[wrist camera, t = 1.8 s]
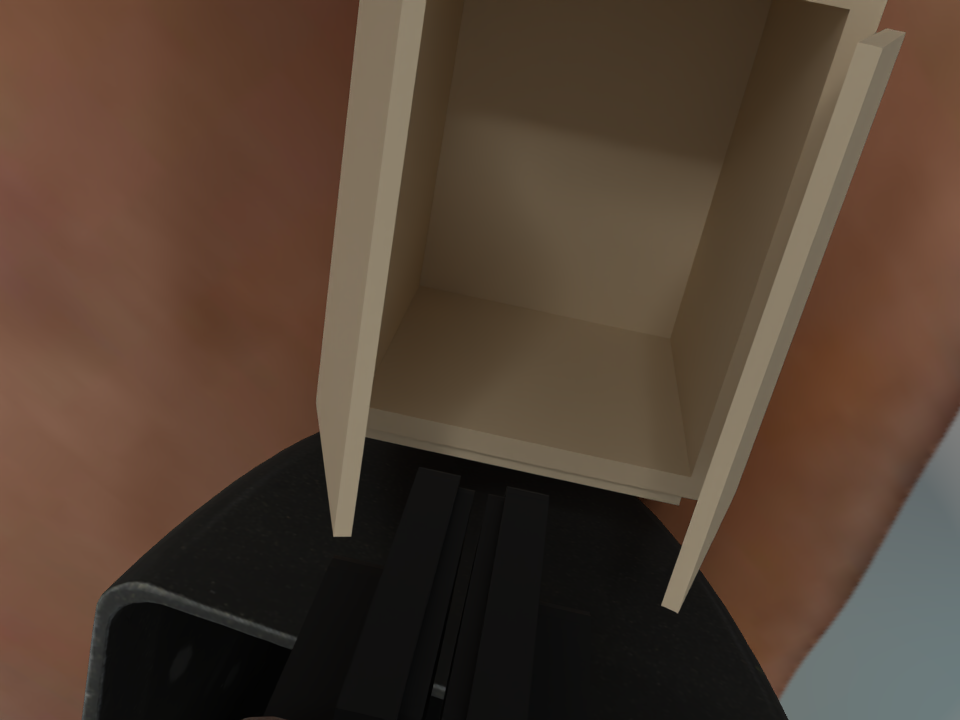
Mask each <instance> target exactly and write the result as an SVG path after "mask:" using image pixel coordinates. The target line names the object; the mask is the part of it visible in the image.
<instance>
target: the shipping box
mask: <svg viewBox="0 0 960 720" xmlns="http://www.w3.org/2000/svg"><path fill="white" fill-rule="evenodd" d="M886 3H887V0H426V6H425V13H424V20H423V27H422V35H421V42H420V49H419V56H418V63H417V70H416V77H415V85H414V92H413V99H412V106H411V113H410V120H409V127H408V135H407V142H406V149H405V156H404V163H403V170H402V177H401V185H400V192H399V199H398V206H397V213H396V220H395V227H394V234H393V242H392V249H391V256H390V263H389V270H388V277H387V284H386V292H385V299H384V306H383V313H382V320H381V327H380V334H379V342H378V349H377V356H376V363H375V370H374V377H373V384H372V392H371V399H370V406H369V413H368V420H367V427H366V434H365V437H368V438H372V439H377V440H382V441H386V442H391V443H395V444H400V445H404V446H409V447H414V448H418V449H423V450H427V451H432V452H436V453H441V454H446V455H450V456H455V457H459V458H464V459H468V460H473V461H478V462H482V463H487V464H491V465H496V466H500V467H505V468H510V469H514V470H519V471H523V472H528V473H533V474H537V475H542V476H546V477H551V478H555V479H560V480H565V481H569V482H574V483H578V484H583V485H587V486H592V487H597V488H601V489H606V490H610V491H615V492H619V493H624V494H629V495H633V496H638V497H642V498H647V499H651V500H656V501H661V502H665V503H670V504H674V505H679V503H680V500H681V497H684V498H689V499H694V500H698V498H699V496H700V493H701V490H702V487H703V484H704V481H705V478H706V475H707V473H708V470H709V467H710V464H711V461H712V458H713V455H714V453H715V450H716V447H717V444H718V441H719V438H720V435H721V433H722V430H723V427H724V424H725V421H726V418H727V415H728V413H729V410H730V407H731V404H732V401H733V398H734V395H735V392H736V390H737V387H738V384H739V381H740V378H741V375H742V372H743V370H744V367H745V364H746V361H747V358H748V355H749V352H750V350H751V347H752V344H753V341H754V338H755V335H756V332H757V329H758V327H759V324H760V321H761V318H762V315H763V312H764V309H765V307H766V304H767V301H768V298H769V295H770V292H771V289H772V287H773V284H774V281H775V278H776V275H777V272H778V269H779V266H780V264H781V261H782V258H783V255H784V252H785V249H786V246H787V244H788V241H789V238H790V235H791V232H792V229H793V226H794V224H795V221H796V218H797V215H798V212H799V209H800V206H801V203H802V201H803V198H804V195H805V192H806V189H807V186H808V183H809V181H810V178H811V175H812V172H813V169H814V166H815V163H816V161H817V158H818V155H819V152H820V149H821V146H822V143H823V141H824V138H825V135H826V132H827V129H828V126H829V123H830V120H831V118H832V115H833V112H834V109H835V106H836V103H837V100H838V98H839V95H840V92H841V89H842V86H843V83H844V80H845V78H846V75H847V72H848V69H849V66H850V63H851V60H852V57H853V55H854V52H855V49H856V46H857V43H858V42H860V41H862V40H864V39H866V38H868V37H870V36H872V35H874V34H876V31H877V28H878V25H879V22H880V20H881V17H882V14H883V11H884V8H885V6H886Z"/></svg>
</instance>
